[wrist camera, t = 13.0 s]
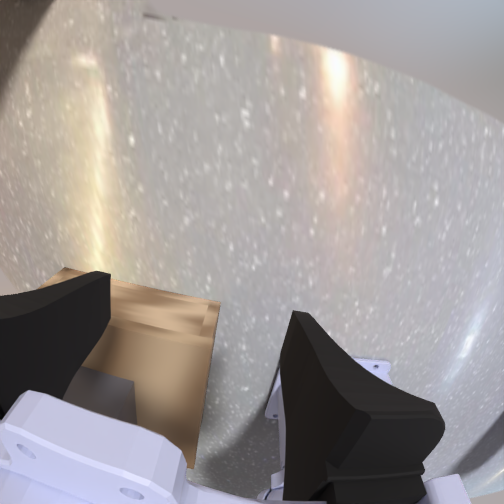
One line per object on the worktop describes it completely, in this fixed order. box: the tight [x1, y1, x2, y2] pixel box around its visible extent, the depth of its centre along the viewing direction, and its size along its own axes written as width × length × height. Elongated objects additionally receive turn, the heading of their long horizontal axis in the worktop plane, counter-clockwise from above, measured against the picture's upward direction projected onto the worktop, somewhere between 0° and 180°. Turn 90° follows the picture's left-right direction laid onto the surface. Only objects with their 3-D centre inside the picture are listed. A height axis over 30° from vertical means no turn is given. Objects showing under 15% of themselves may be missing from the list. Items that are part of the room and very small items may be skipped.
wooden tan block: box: [81, 316, 213, 469], centre depth 20 cm, size 13×14×1 cm
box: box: [36, 267, 221, 432], centre depth 23 cm, size 13×13×5 cm
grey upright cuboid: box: [62, 366, 137, 425], centre depth 17 cm, size 4×6×6 cm, turn 170°
